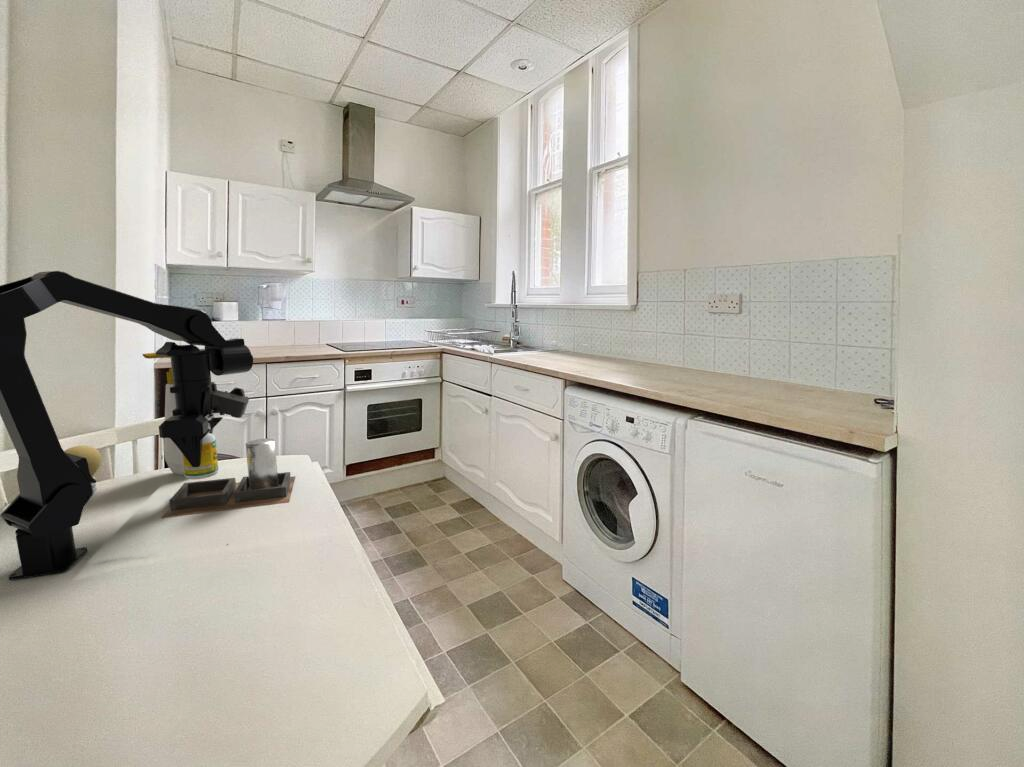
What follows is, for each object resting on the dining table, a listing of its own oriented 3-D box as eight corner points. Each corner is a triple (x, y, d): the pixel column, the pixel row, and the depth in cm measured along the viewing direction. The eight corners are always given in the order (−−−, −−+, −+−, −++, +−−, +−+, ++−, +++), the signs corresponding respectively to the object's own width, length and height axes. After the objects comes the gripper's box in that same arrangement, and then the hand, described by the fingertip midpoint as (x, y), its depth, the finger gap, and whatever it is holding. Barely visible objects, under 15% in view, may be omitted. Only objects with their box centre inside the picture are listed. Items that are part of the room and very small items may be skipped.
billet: (277, 494, 90) (273, 444, 89) (247, 498, 89) (243, 447, 87) (280, 485, 95) (276, 437, 93) (252, 488, 93) (248, 440, 92)
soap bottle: (147, 477, 103) (129, 345, 98) (199, 464, 111) (185, 342, 106) (172, 490, 96) (155, 348, 91) (225, 475, 104) (212, 345, 99)
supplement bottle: (183, 473, 88) (177, 424, 86) (216, 468, 91) (211, 420, 90) (186, 482, 84) (180, 430, 82) (220, 475, 87) (216, 425, 86)
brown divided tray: (289, 509, 87) (288, 491, 87) (161, 526, 80) (159, 507, 80) (296, 482, 100) (294, 467, 100) (186, 495, 93) (184, 478, 93)
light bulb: (85, 501, 90) (78, 451, 89) (53, 500, 90) (45, 451, 89) (114, 488, 97) (107, 441, 95) (84, 488, 97) (76, 441, 95)
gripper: (232, 385, 79) (240, 473, 81) (251, 370, 96) (257, 444, 98) (152, 388, 75) (163, 481, 77) (187, 372, 92) (195, 449, 95)
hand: (200, 461), depth 87 cm, fingers closed on supplement bottle, 5 cm apart
